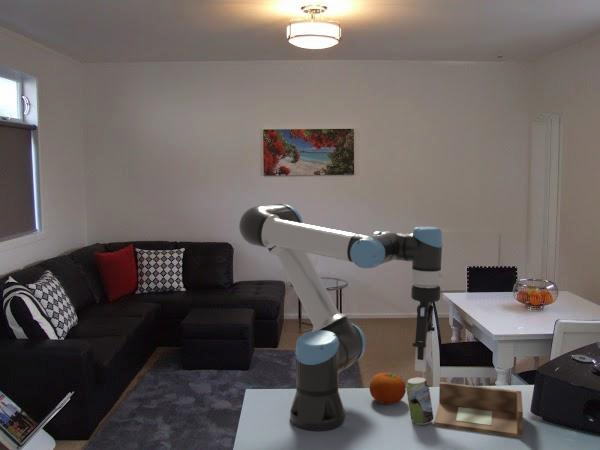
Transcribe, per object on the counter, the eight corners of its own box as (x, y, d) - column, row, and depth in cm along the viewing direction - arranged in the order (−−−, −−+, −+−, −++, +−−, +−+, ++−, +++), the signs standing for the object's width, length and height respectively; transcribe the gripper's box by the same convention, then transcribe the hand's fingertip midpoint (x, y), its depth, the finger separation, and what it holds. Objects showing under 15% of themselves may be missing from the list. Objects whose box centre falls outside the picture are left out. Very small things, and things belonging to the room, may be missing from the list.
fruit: (365, 405, 164) (365, 379, 163) (373, 392, 173) (374, 367, 172) (401, 410, 160) (402, 383, 159) (408, 397, 169) (408, 371, 169)
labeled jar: (433, 428, 149) (434, 384, 148) (405, 426, 150) (406, 382, 149) (433, 418, 155) (433, 376, 154) (406, 415, 156) (406, 374, 155)
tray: (434, 425, 150) (434, 400, 150) (439, 405, 163) (440, 381, 163) (522, 438, 143) (522, 411, 142) (520, 415, 156) (521, 391, 155)
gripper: (436, 296, 136) (432, 380, 138) (444, 277, 159) (441, 349, 162) (404, 293, 138) (402, 376, 141) (417, 275, 162) (415, 346, 164)
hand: (423, 362), depth 151 cm, fingers open, 13 cm apart
